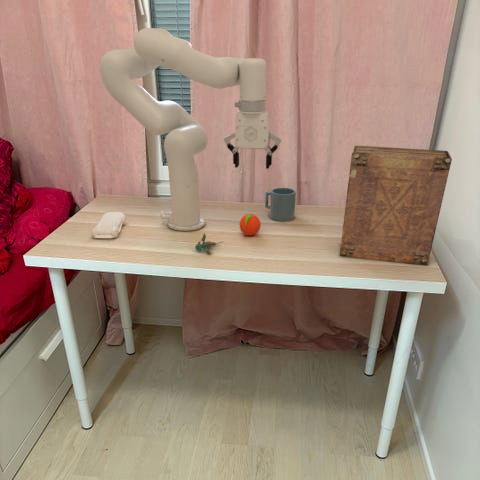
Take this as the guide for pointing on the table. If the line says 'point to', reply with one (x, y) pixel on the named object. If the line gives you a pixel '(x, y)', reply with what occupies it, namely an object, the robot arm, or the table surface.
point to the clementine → (250, 224)
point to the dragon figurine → (205, 244)
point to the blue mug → (281, 203)
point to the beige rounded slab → (109, 225)
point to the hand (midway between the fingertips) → (252, 167)
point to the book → (393, 203)
